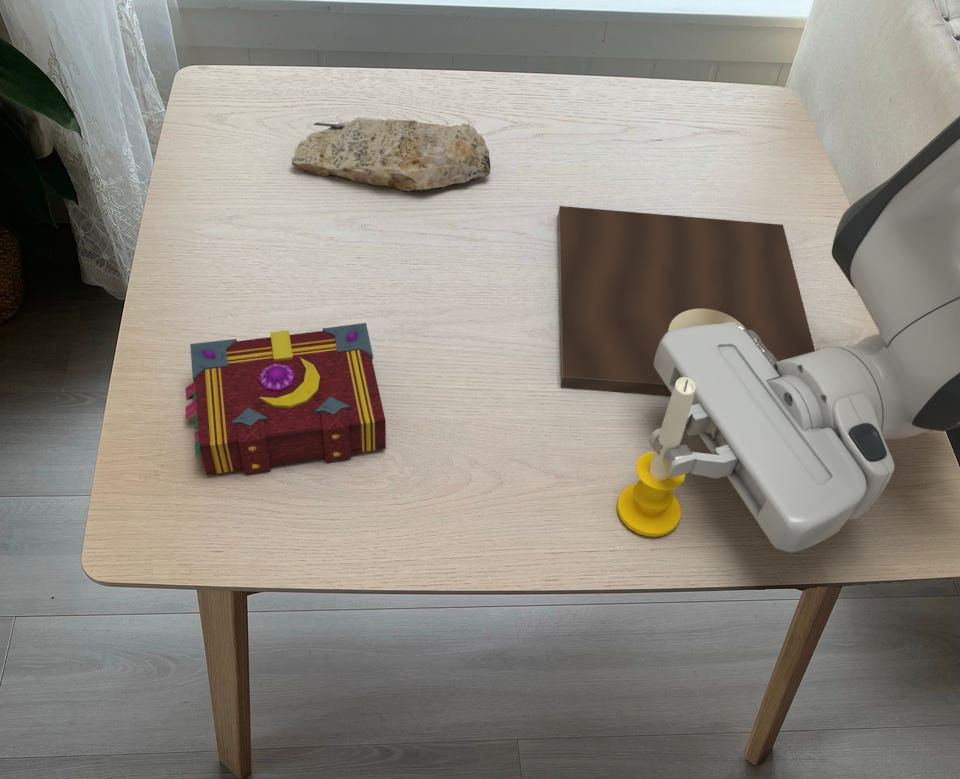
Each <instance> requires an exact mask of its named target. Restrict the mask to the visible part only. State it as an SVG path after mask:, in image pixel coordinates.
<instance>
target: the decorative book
mask: <svg viewBox="0 0 960 779" xmlns="http://www.w3.org/2000/svg"><path fill="white" fill-rule="evenodd" d="M367 325H368V324H367V322H361V323H353V324H348V325H347V324H345V325H339V326H331V327H323V328H322V330H319V331H311V332H302V333H294V334H290V330H289V329H288V330H287V329H286V330H279V331H270V333H269V334H270V336H268V337H260V338H252V339H245V340H243V339H242V340H237V338H231V339H230V338H229V339H223V340H213V341H205V342H195V343H190V344H189V345H190V346H189V347H190V359H191V360H190V361H191V372H192V373H191V375H192V381H193V382H192V383H191V384H189V385H187V386H186V387H185V400H188V399H189V398H191V397H192V402H190V403H188V404H187V405H185V407H184V408H185V419H186V420H187V419H189V418H190V417H191V416H193V415H194V414H195V413H196V414H197V415H196V416H195V417H194V451H195V457H197V456H198V455H199V453H200V454H201V459H202V462H203V467H204V471H205V474H206V476H209V475H218V474H223V473H230V472H236V471H237V472H238V471H244V474H245V475H252V474H258V473H264V472H265V473H266V472H271V471H272V469H271V466H277V465H284V464H291V463H297V462H298V463H299V462H305V461H312V460H317V459H324V458H325V459H324V460H325V463H330V462H339V461H344V460H351V459H352V457H351V455H352V454H359V453H364V452H366V453H367V452H373V451H378V450H386V449H387V444H386V443H387V442H386V441H387V440H386V439H387V437H386V436H387V435H386V434H387V433H386V429H387V428H386V427H387V424H386V422H387V421H386V417H385V412H384V407H383V402H382V398H381V394H380V389H379V385H378V381H377V376H376V372H375V367H374V362H373V360H374V354H373V349H372V343H371V339H370V334H369V331H368V326H367Z"/></svg>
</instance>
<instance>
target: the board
mask: <svg viewBox="0 0 960 779" xmlns="http://www.w3.org/2000/svg"><path fill="white" fill-rule="evenodd" d="M789 246H790V245H789V243H788V238H787V235H786V231H785V227H784V224H780V223H768V222H756V221H744V220H734V219H733V220H732V219H720V218H710V217H709V218H707V217H695V216H687V215H686V216H683V215H675V214H674V215H673V214H672V215H671V214H662V213H661V214H660V213H650V212H649V213H648V212H636V211H635V212H634V211H626V210H625V211H624V210H615V209H613V210H612V209H602V208H601V209H600V208H589V207H588V208H587V207H579V206H578V207H576V206H566V205H565V206H564V205H559V207H558V213H557V247H558V248H557V252H558V253H557V254H558V255H557V256H558V296H559V297H558V305H559V306H558V307H559V308H558V309H559V311H558V312H559V352H560V353H559V354H560V356H559V357H560V387H561V388H567V389H577V390H578V389H579V390H592V391H603V392H605V391H606V392H618V393H630V394H642V395H643V394H644V395H655V396H656V395H657V396H669V397H671V395H672V393H671V392H670V390H669V389H668V387H667V386H666V384H665V383H664V381H663V380H662V378H661V377H660V375H659V374H658V372H657V371H656V369H655V367H654V358H655V355H656V351H657V348H658V346H659V343H660V341H661V339H662V338H663V336H664V335H665V334H666V333H667V332H669V331H671V330H675V329H680V328H686V327H692V326H700V325H709V324H722V323H726V322H734V323H736V324H737V325H739V326H742V327H744V328H745V329H747V330H752V331H754V332H755V333H756V334H757V335H758V336H759V338H760V339H761V342H762V343H763V345H764V346H765V347H766V348H767V349H768V350H769V351H770V352H771V353H772V354H773V356H774V357H775V358H776V360H777V361H778V362H779V361H781V360H785V359H788V358H792V357H796V356H799V355H803V354H806V353H810V352H814V351H816V349H815V345H814V341H813V338H812V334H811V330H810V325H809V322H808V318H807V313H806V310H805V306H804V302H803V298H802V294H801V290H800V287H799V282H798V278H797V275H796V270H795V267H794V263H793V258H792V254H791V250H790V247H789Z"/></svg>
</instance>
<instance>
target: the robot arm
mask: <svg viewBox="0 0 960 779" xmlns="http://www.w3.org/2000/svg"><path fill="white" fill-rule="evenodd" d="M831 256H832V259H833V261H835V263H836V265H837V266H838V268H839V269H840V270H841V272H842V273H843V275H844V276H845V279H847V281H848V283H849V284H850V285H851V287H852V288H853V289H854V290H855V291H856V293H857V294H858V296H859V299H860V300H861V301H862V303H863V305H864V307H865V308H866V311H867V313H868V314H869V316H870V318H871V320H872V321H873V323H874V325H875V328H877V330H878V332H879V333H876V334H872V335H869V336H866V337H865V338H863V339H861V340H860V341H858V342H857V343H855V344H854V345H849V346H848V345H834V346H829V347H828V346H827V347H825V348H821V349H818V350H815V351H814V352H810V353H806V354H803V355H799V356H796V357H792V358H788V359H785V360H781V361H779V362H778V361H777V360H776V358H775V357H774V356H773V354H772V353H771V352H770V351H769V350H768V349H767V348H766V347H765V346H764V345H763V343H762V342H761V339H760V338H759V336H758V335H757V334H756V333H755V332H754V331H752V330H747V329H745V328H744V327H742V326H739V325H737V324H736V323H734V322H726V323H722V324H709V325H700V326H692V327H686V328H680V329H675V330H671V331H669V332H667V333H666V334H665V335H664V336H663V338H662V339H661V341H660V343H659V346H658V348H657V351H656V355H655V358H654V367H655V369H656V371H657V372H658V374H659V375H660V377H661V378H662V380H663V381H664V383H665V384H666V386H667V387H668V389H669V390H670V392H671V393H672V392H673V389H674V386H675V383H676V381H677V380H678V379H679V378H682V377H686V378H690V379H691V380H692V381H693V382H694V383H695V386H696V390H695V394H694V398H693V402H692V406H691V409H690V412H689V416H688V419H687V423H686V426H685V429H684V432H685V433H686V435H687V436H689V437H693V436H695V435H699V437H700V438H701V440H702V441H703V443H704V444H705V445H706V447H707V449H708V450H709V452H710V453H707V452H706V453H705V452H696V451H692V450H691V449H690V447H689V446H688V445H687V443H685V444H682V442H683V437H682V439H681V443H680V446H679V447H678V448H671V449H669V450H667V451H666V452H665V454H664V458H663V459H662V462H663V464H664V466H665V467H666V469H667V471H668V472H669V474H670V476H671V477H677V476H680V475H683V474H685V475H686V474H689V473H690V474H692V475H695V476H701V477H704V478H705V477H706V478H710V479H715V480H716V479H721V478H724V477H726V478H727V479H728V480H729V481H730V483H731V485H732V486H733V488H734V489H735V491H736V492H737V494H738V495H739V497H740V498H741V499H742V501H743V503H744V504H745V506H746V507H747V509H748V510H749V512H750V513H751V515H752V516H753V518H754V520H755V521H756V522H757V524H758V525H759V527H760V528H761V530H762V532H763V533H764V534H765V536H766V537H767V540H768V541H769V542H770V543H771V545H772V546H773V547H774V548H775V549H777V550H779V551H783V552H786V553H787V552H788V553H791V554H792V553H793V554H794V553H797V552H801V551H803V550H806V549H809V548H811V547H813V546H815V545H817V544H819V543H822V542H824V541H826V540H827V539H829V538H831V537H833V536H835V535H836V534H837V533H838V532H840V531H841V529H842V528H843V527H844V526H845V524H846V523H847V521H848V520H855V519H858V518H860V517H862V516H863V515H864V514H865V513H867V511H869V510H870V508H872V506H873V505H875V503H876V501H877V500H878V499H879V498H880V496H881V495H882V494H883V492H884V490H885V489H886V487H887V485H888V483H889V482H890V479H891V478H892V475H893V473H894V472H895V462H894V460H893V457H892V454H891V452H890V450H889V447H888V446H887V443H886V441H887V440H894V441H895V440H905V439H909V438H912V437H915V436H918V435H921V434H924V433H927V432H929V431H935V432H936V431H938V432H947V431H949V430H953V429H956V428H959V427H960V115H958V116H957V117H955V119H954V120H953V121H952V122H951V123H949V124H948V125H947V126H945V128H943V129H942V130H941V131H940V132H939V133H938V134H937V135H936V136H934V138H932V139H931V140H930V141H929V142H928V143H927V144H926V145H925V146H924V147H923V148H921V150H920V151H918V152H917V153H916V154H915V155H914V156H913V157H912V158H911V159H909V161H907V162H906V163H905V164H904V165H903V166H902V167H901V168H900V169H899V170H897V171H896V172H895V173H894V174H892V175H891V177H889V178H888V179H887V180H886V181H884V182H882V183H881V184H879V185H878V186H876V187H874V189H872V190H871V191H869V192H868V193H866V194H864V196H862V197H860V198H859V199H858V200H857V201H855V202H854V203H853V204H851V205H850V206H849V207H848V208H847V209H846V210H845V211H844V212H843V214H842V216H841V218H840V220H839V222H838V224H837V227H836V230H835V234H834V238H833V242H832V247H831ZM661 428H662V427H659V428H657V429H655V430H654V431H653V432H652V433H651V435H650V438H649V440H648V442H649V443H650V445H651V446H652V448H653V451H656V453H657V454H658V456H659V455H660V450H662V447H663V445H661V444H660V443H659V435H660V431H661Z"/></svg>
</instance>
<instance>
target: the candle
mask: <svg viewBox="0 0 960 779" xmlns="http://www.w3.org/2000/svg"><path fill="white" fill-rule="evenodd" d="M695 390H696V386H695V383H694V382H693V381H692V380H691V379H690V378H686V377H682V378H679V379H678V380H677V381H676V383H675V386H674V389H673V392H672V395H671V396H669V401H668V404H667V408H666V411H665V414H664V418H663V421H662V424H661V427H660V428H661V431H660V435H659V443H660V444H661V445H663V447H662V450H660V455H659V456H658V454H657V453H656V451H655V450H651V451H648V452H645V453H644V454H642V455H640V456H639V457H638V459H637V460H636V463H635V473H636V475H637V477H638V478H639V480H638V481H637V482H636V483H633V484H631V485H629V486H627V487H626V488H624V489H623V491H622V492H620V495H619V496H618V499H617V501H616V502H617V505H616V506H617V507H616V510H617V514H618V517H619V519H620V520H621V522H622V523H623V525H625V527H627V528H628V529H629V530H631V531H632V532H634V533H636V534H638V535H642V536H644V537H652V538H654V537H655V538H656V537H662V536H666V535H668V534H670V533H671V532H672V531H674V530H675V529H676V528H677V526H678V525H679V524H680V520H681V517H682V506H681V504H680V501H679V500H678V498H677V497H676V494H674V492H673V491H674V490H675V489H677V488H678V487H681V485H682V484H683V482H684V481H685V478H686V474H683V475H680V476H677V477H671V476H670V474H669V472H668V471H667V469H666V467H665V466H664V464H663V462H662V459H663V458H664V454H665V452H666V451H667V450H669V449H671V448H678V447H679V446H681V444H682V442H681V439H682V438H683V436H684V432H685V431H684V429H685V426H686V423H687V419H688V416H689V412H690V409H691V406H692V402H693V398H694V394H695ZM682 440H683V439H682ZM680 443H681V444H680Z"/></svg>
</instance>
